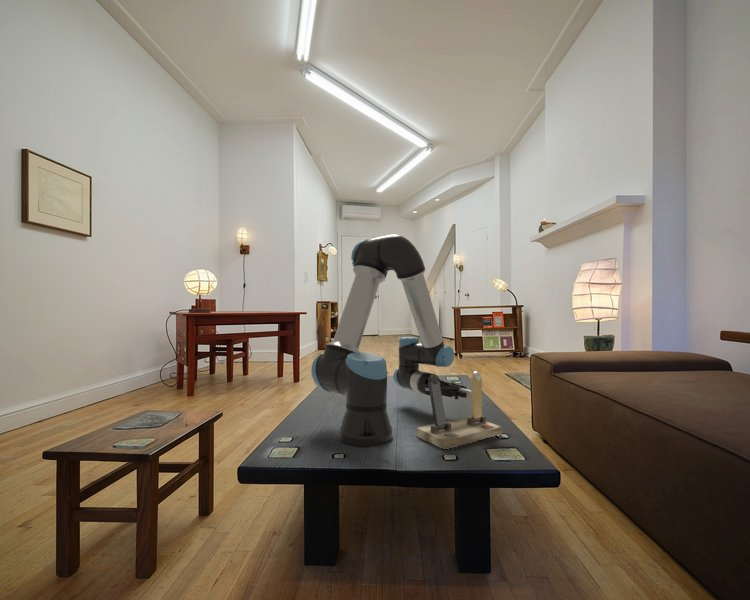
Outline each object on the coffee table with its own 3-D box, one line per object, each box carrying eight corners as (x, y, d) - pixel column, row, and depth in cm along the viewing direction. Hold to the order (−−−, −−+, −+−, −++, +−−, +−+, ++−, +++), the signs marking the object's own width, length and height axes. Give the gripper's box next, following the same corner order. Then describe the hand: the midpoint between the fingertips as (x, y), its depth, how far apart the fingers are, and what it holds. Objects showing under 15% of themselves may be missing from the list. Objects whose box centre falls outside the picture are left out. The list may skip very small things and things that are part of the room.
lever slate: (433, 430, 104) (425, 376, 107) (442, 428, 105) (433, 375, 109) (440, 430, 101) (431, 375, 105) (449, 428, 103) (439, 374, 107)
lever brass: (469, 421, 111) (469, 371, 111) (476, 419, 113) (476, 370, 113) (476, 423, 109) (476, 372, 109) (483, 422, 110) (484, 371, 111)
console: (416, 436, 106) (416, 421, 106) (471, 424, 118) (471, 410, 118) (445, 450, 96) (445, 433, 96) (501, 435, 108) (501, 420, 108)
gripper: (439, 391, 135) (491, 406, 116) (411, 395, 128) (461, 412, 109) (439, 370, 136) (491, 382, 116) (411, 374, 129) (461, 386, 109)
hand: (476, 396), depth 112 cm, fingers closed
